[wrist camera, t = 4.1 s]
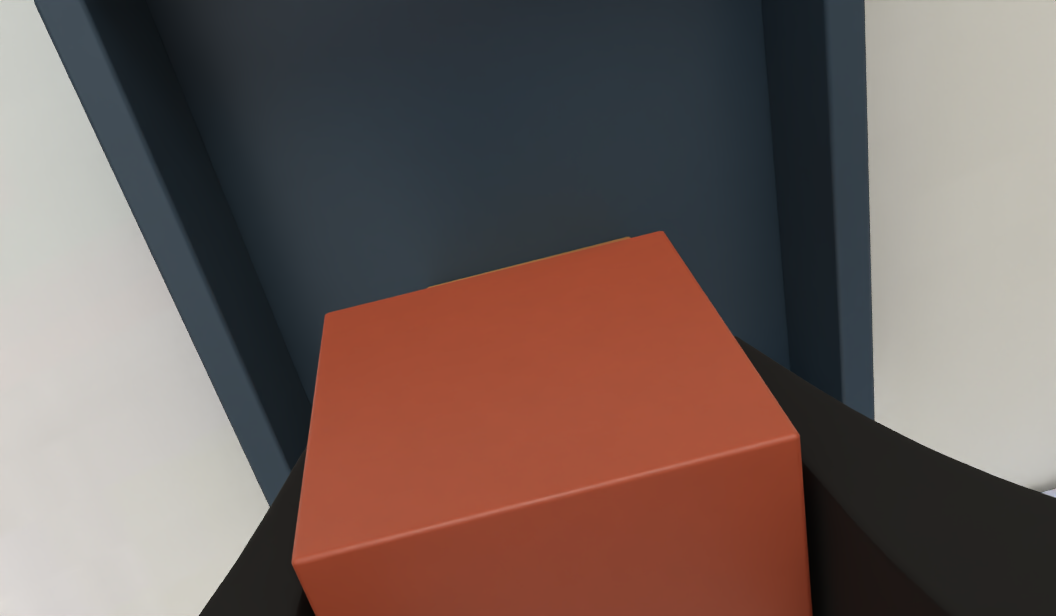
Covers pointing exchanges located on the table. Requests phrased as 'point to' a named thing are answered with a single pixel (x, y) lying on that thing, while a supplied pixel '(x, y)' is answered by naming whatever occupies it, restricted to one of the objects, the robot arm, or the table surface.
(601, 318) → the terracotta block
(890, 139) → the table surface
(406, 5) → the bin
